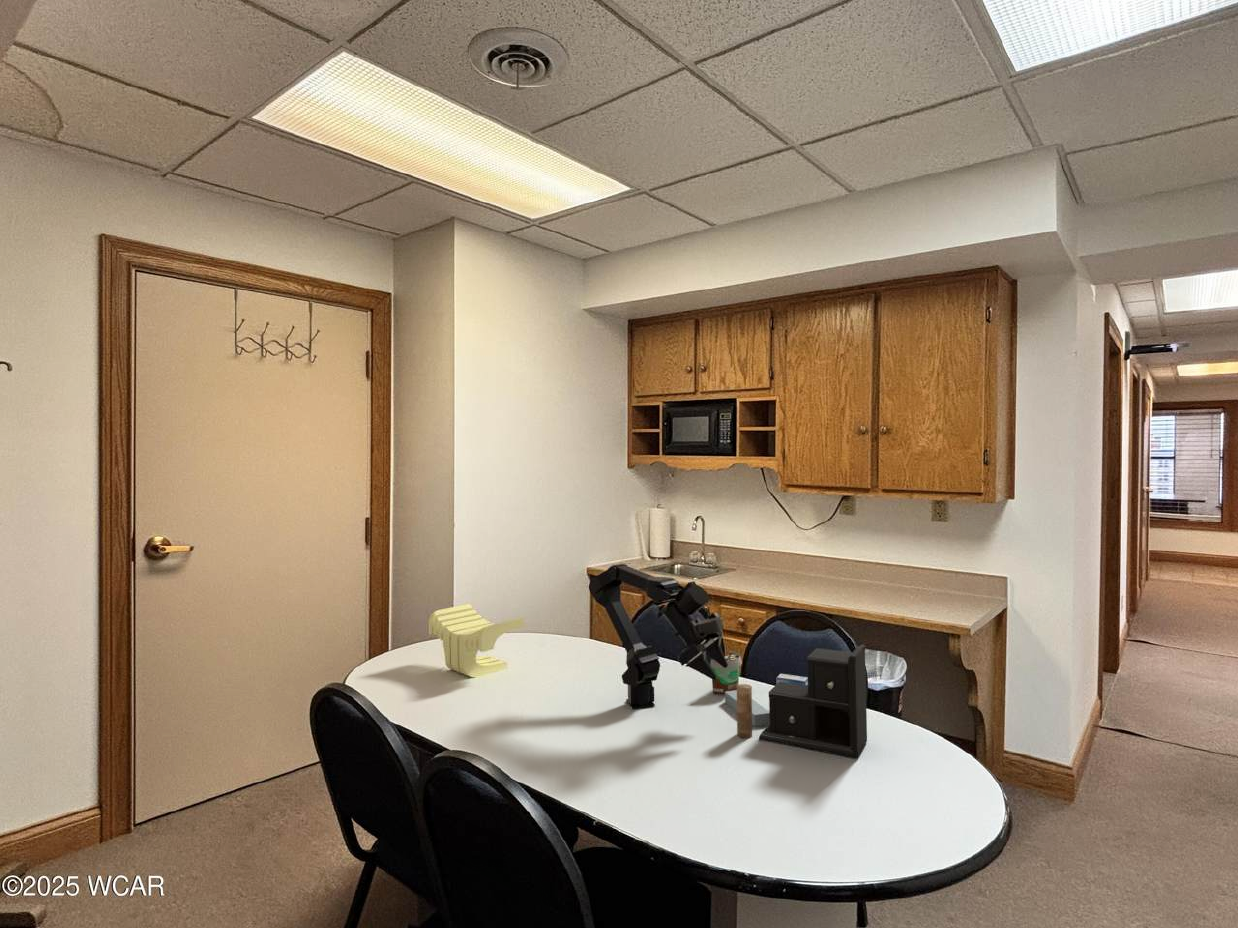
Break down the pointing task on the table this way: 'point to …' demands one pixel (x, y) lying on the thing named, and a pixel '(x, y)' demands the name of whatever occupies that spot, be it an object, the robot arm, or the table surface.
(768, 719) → the ridge bar
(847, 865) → the table surface
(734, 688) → the food container
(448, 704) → the table surface
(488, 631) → the slatted curved stool
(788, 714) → the black desk organizer
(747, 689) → the walnut dowel
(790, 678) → the medicine box
